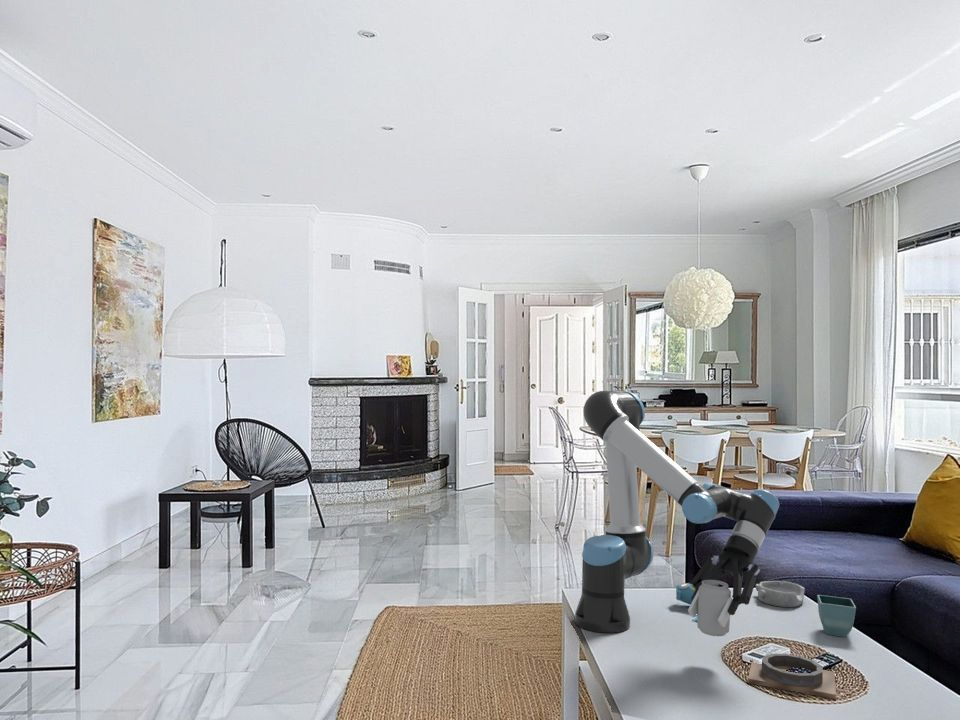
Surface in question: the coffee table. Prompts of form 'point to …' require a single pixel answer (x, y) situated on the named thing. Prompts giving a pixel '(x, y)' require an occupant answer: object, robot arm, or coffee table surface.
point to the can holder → (793, 675)
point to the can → (712, 607)
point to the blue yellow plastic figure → (685, 594)
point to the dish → (780, 593)
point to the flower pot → (836, 614)
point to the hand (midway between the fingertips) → (705, 618)
